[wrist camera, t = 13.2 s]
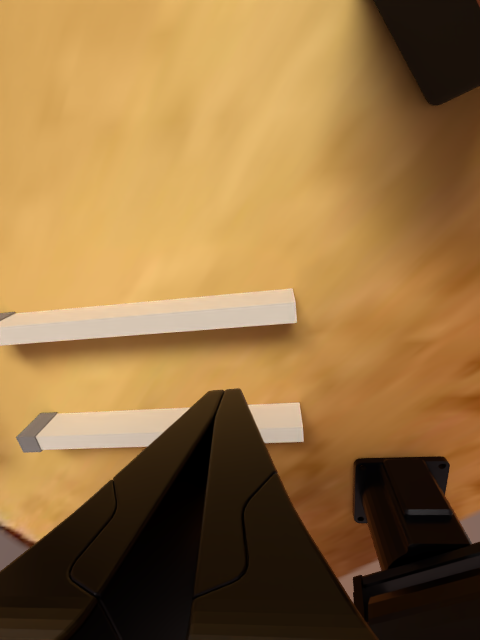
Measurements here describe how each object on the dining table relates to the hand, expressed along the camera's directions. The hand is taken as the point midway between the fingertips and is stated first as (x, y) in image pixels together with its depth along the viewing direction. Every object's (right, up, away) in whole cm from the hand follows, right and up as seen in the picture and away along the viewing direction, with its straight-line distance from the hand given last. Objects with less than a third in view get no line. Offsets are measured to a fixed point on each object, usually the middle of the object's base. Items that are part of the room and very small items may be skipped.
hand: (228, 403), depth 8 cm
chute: (-6, -1, +14) cm, 15 cm away
